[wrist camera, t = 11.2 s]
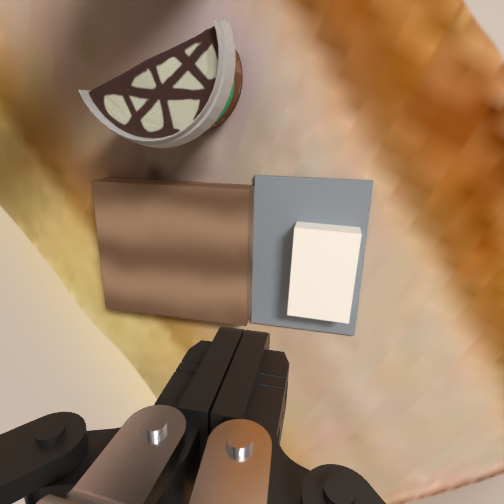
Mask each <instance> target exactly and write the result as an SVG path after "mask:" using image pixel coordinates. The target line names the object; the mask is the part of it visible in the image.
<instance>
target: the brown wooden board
mask: <svg viewBox="0 0 504 504" xmlns="http://www.w3.org/2000/svg"><path fill="white" fill-rule="evenodd" d="M91 182H92V191H93V200H94V209H95V218H96V226H97V235H98V244H99V253H100V262H101V270H102V279H103V288H104V297H105V306H106V308H108V309H116V310H123V311H131V312H139V313H147V314H155V315H163V316H170V317H178V318H186V319H194V320H202V321H210V322H217V323H225V324H233V325H241V326H246V325H247V323H248V321H249V319H250V317H251V315H252V273H253V230H254V187H255V185H240V184H221V183H203V182H184V181H165V180H146V179H127V178H104V179H99V180H94V181H91Z"/></svg>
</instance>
